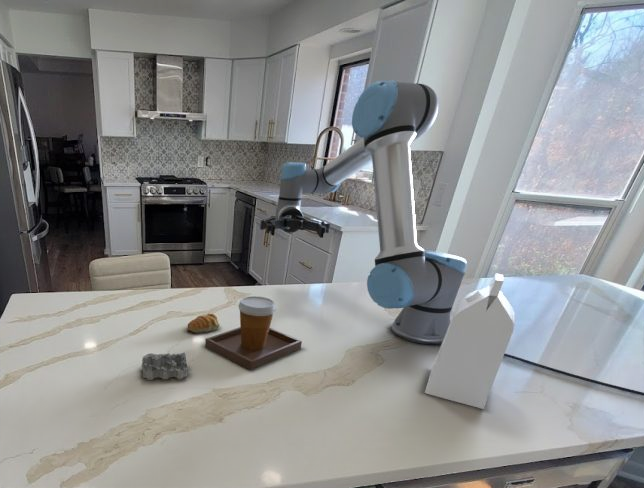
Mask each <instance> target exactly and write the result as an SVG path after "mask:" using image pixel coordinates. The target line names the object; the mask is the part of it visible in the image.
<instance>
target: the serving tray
mask: <svg viewBox="0 0 644 488" xmlns="http://www.w3.org/2000/svg"><path fill="white" fill-rule="evenodd" d="M302 342H303V341H302V339H301V340H300V339H298V338H295V337H293V336H291V335H288V334H286V333H283V332H282V331H279V330H276V329H274V328H271V327H270V328H269V332H268V335H267V339H266V343H265V347H264V348H262V349H258V350H252V349H247V348H245V347H243V346H242V345H241V326H240V327H236V328H233V329H231V330H228V331H225V332H221V333H219V334H216V335H212V336H210V337H207V338H205V342H204V346H205V348H207V349H209V350H211V351H213V352H215V353H216V354H219V355H220V356H223V357H224V358H227V359H228V360H230V361H233V362H235V363H236V364H238V365H240V366H242V367H244V368H246V369H248V370H249V371H252V370H254V369H257V368H259V367H261V366H263V365H266V364H268V363H271V362H272V361H275V360H278V359H280V358H282V357H285V356H287V355H289V354H292V353H294V352H297V351H299V350H301V348H302V344H303V343H302Z"/></svg>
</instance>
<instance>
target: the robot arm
mask: <svg viewBox="0 0 644 488" xmlns="http://www.w3.org/2000/svg"><path fill="white" fill-rule="evenodd" d="M438 112H439V99H438V96H437V94H436V91H435V90H434V89H433V88H432V87H431V86H429V85H427V84H424V83H414V82H404V81H403V82H402V81H395V80H393V79H388V80H377V81H375V82H373V83H371V84H369V85H368V86H367V87H366V88H365V89H364V90H363V91H362V92H361V94H360V95H359V96H358V99H357V102H356V103H355V105H354V108H353V111H352V116H351V128H352V130H353V132H354V133H355V134H356V136H357V137H359V138H361V139H360V140H358V141H357V142H355V143H353V144H352V145H351V146H350V147H348V148H347V149H346V150H344V151H342V152H341V153H340V154H338V155H337V156H336V157H334V158H333V159H331V160H330V161H328V163H326V164H325V165H324V166H322V167H321V168H307V166H306V165H307V164H306V163H305V162H296V161H295V162H293V161H290V162H285V163H283V165H282V168H281V173H280V181H279V182H280V183H279V194H278V199H277V207H276V209H275V216H274V215H271V216H270V217H267V218H265V219H264V218H263V219H261V220H260V225H259V227H260V228H259V230H261V231H264V230H265V233H266V234H270V235H271V236H275V231H276V230H278V229H280V230H282V231H283V232H285V233H287V234H288V233H289V234H293V233H296V232H297V231H312V232H314V233H315V232H316V234H317V236H319V238H320V239H323V238H324V234H328V233H330V228H331V223H329V222H326V221H325V220H319V219H317V218H316V217H315V218H314V217H311V218H310V219H308V218H307V217H305V216H304V214H303V212H302V211H301V203H302V197H303V195H305V194H309V195H310V194H324V195H326V194H330V193H334V192H336V191H337V190H339V187H340V186H341V183H342V182H344V181H346V180H347V179H349V178H351V177H352V176H354V175H355V174H356V173H358V172H360V171H362V170H363V169H364V168H366V167H367V166H370V164H371V165H372V171H373V174H372V175H373V184H374V195H375V196H374V198H375V206H376V207H375V208H376V218H377V219H376V221H377V230H378V231H377V232H378V243H379V253H378V254H377V256H375V258H374V267H373V268H372V269H371V270H370V271H369V275H368V276H367V279H366V288H367V293H368V295H369V297H370V299H371V300H372V302H374V303H375V304H377V306H378V307H381V308H383V309H401V311H400V312H399V313H398V315H397V316H396V318H395V319H394V321H393V322H392V326H391V332H392V333H393V334H394V335H396V336H397V337H398V338H401V339H403V340H405V341H409V342H411V343H416V344H421V345H431V346H432V345H436V346H437V345H442V342H443V340H444V337H445V335H446V332H447V330H448V327H449V324H450V322H451V312H452V309H453V306H454V304H455V301H456V298H457V295H458V292H459V289H460V287H461V284H462V281H463V279H464V276H465V274H466V269H467V265H468V262H467V260H466V259H465V258H463V257H461V256H457V255H453V254H449V253H444V252H440V251H432V250H425V249H424V248H422V247H421V246H419V244H418V241H417V228H416V227H417V226H416V214H415V213H416V212H415V200H414V188H413V187H414V185H413V174H412V160H411V147H410V145H411V143H413V142H414V141H416V140H417V139H419V138H421V137H422V136H423V135H424V134H425V133H426V132H428V131H429V129H431V127H432V126H433V124H434V122H435V121H436V118H437V116H438ZM503 357H506V358H508V359H513V360H515V361H519V362H523V363H524V364H525V363H526V364H528V365H532V366H534V367H538V368H540V369H543V370H547V371H550V372H553V373H557V374H559V375H564V376H567V377H571V378H575V379H577V380H581V381H585V382H587V383H588V382H589V383H593V384H595V385H599V386H603V387H607V388H610V389H614V390H618V391H622V392H627V393H631V394H635V395H638V396H643V397H644V392H643V391H640V390H635V389H631V388H626V387H623V386H619V385H614V384H611V383H606V382H603V381H599V380H595V379H592V378H588V377H584V376H581V375H577V374H574V373H570V372H567V371H564V370H560V369H557V368H554V367H550V366H547V365H544V364H541V363H537V362H535V361H531V360H528V359H525V358H522V357H518V356H516V355H512V354H508V353H505V354H504V356H503Z"/></svg>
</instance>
